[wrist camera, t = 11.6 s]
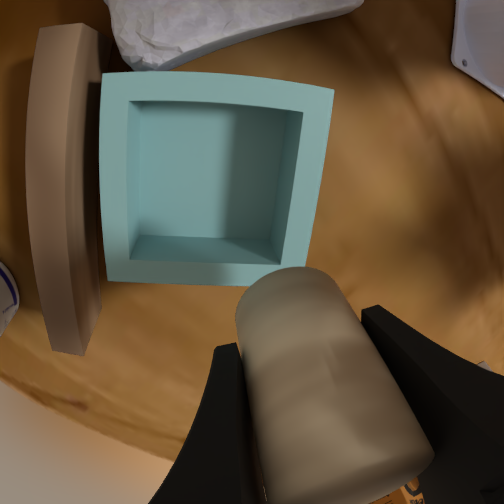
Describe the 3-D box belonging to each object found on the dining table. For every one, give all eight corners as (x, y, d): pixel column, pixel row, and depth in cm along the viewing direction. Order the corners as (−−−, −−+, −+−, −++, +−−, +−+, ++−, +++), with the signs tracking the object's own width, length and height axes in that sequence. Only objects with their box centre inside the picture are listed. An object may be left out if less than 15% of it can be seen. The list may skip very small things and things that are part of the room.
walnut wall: (113, 40, 12) (82, 22, 8) (101, 308, 19) (83, 356, 15) (78, 41, 12) (39, 27, 8) (74, 304, 19) (52, 350, 15)
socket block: (308, 90, 15) (334, 89, 12) (284, 253, 19) (300, 286, 16) (124, 78, 13) (102, 73, 10) (123, 247, 17) (107, 280, 14)
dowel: (361, 296, 12) (457, 448, 6) (295, 364, 13) (345, 516, 7) (281, 245, 10) (374, 446, 4) (213, 330, 11) (233, 520, 5)
